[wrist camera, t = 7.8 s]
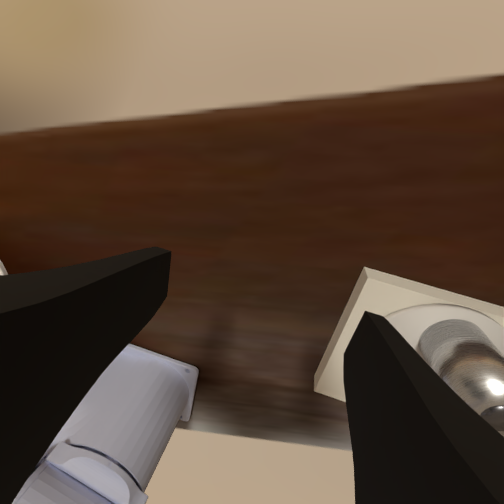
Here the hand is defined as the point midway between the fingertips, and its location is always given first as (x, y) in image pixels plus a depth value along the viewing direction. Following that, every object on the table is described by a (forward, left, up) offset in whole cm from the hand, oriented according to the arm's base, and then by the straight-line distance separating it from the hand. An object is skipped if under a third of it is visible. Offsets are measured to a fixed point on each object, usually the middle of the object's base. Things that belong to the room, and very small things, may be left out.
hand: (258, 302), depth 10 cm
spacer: (+12, -4, -8) cm, 15 cm away
